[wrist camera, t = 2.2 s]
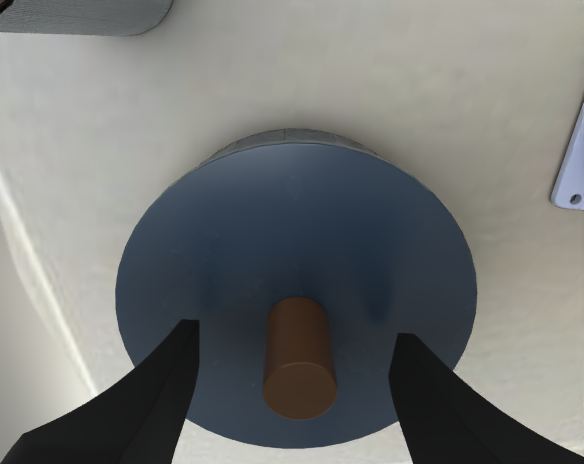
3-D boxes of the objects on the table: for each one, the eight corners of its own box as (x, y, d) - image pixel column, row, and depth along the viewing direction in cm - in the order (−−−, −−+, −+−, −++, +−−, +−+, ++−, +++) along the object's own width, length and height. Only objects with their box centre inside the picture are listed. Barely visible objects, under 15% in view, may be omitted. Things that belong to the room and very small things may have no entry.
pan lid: (509, 153, 15) (602, 197, 11) (426, 436, 21) (464, 542, 17) (110, 118, 15) (34, 150, 10) (134, 421, 20) (92, 527, 16)
